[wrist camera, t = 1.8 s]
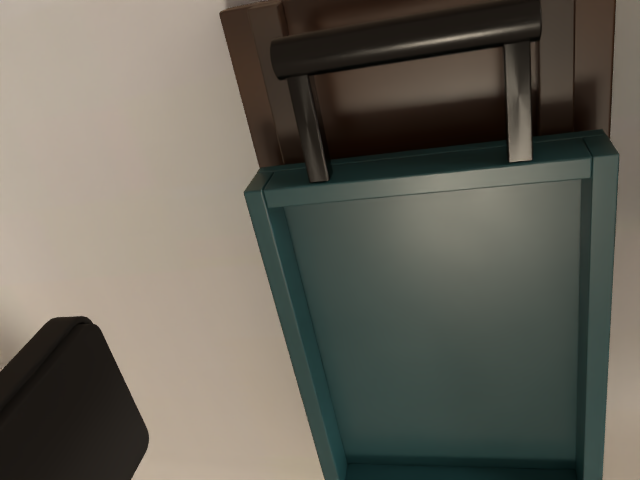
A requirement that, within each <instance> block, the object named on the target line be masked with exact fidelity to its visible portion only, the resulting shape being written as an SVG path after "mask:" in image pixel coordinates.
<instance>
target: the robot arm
mask: <svg viewBox="0 0 640 480" xmlns="http://www.w3.org/2000/svg"><path fill="white" fill-rule="evenodd" d="M148 443H149V434H148V430H147V428H146V425H145V423H144V421H143V419H142V417H141V415H140V413H139V410H138V408H137V406H136V404H135V402H134V400H133V398H132V396H131V393H130V391H129V389H128V387H127V385H126V383H125V381H124V378H123V376H122V374H121V372H120V370H119V368H118V366H117V364H116V361H115V359H114V357H113V355H112V353H111V351H110V349H109V346H108V344H107V342H106V340H105V338H104V336H103V334H102V332H101V330H100V328H99V327H98V326H97V325H95V324H93V323H92V321H91V320H90V319H88V318H87V317H83V316H76V317H56V318H53V319H51V320H49V321H48V322H47V323H46V324H45V325H44V326H43V327H42V328H41V329H40V330H39V331H38V332H37V333H36V334H35V335H34V337H33V338H32V339H31V340H30V341H29V342H28V343H27V344H26V345H25V346H24V347H23V348H22V349H21V350H20V351H19V353H18V354H17V355H16V356H15V357H14V358H13V359H12V360H11V361H10V362H9V363H8V364H7V365H6V366H5V367H4V369H3V370H2V371H1V372H0V480H131V478H132V477H133V475H134V473H135V471H136V469H137V467H138V466H139V464H140V462H141V460H142V458H143V456H144V454H145V453H146V450H147V448H148Z"/></svg>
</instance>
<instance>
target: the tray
mask: <svg viewBox="0 0 640 480" xmlns="http://www.w3.org/2000/svg"><path fill="white" fill-rule="evenodd" d="M541 35H542V8H541V0H489V1H484V2H478V3H472V4H466V5H461V6H455V7H449V8H443V9H438V10H432V11H426V12H420V13H414V14H409V15H403V16H397V17H391V18H386V19H380V20H374V21H368V22H363V23H357V24H351V25H345V26H339V27H334V28H328V29H322V30H316V31H311V32H305V33H299V34H293V35H288V36H282V37H276V38H273V39H272V40H271V42H270V61H271V65H272V69H273V72H274V74H275V76H276V78H277V79H278V80H280V81H282V80H287V84H288V89H289V93H290V98H291V102H292V107H293V111H294V116H295V120H296V125H297V129H298V134H299V138H300V143H301V147H302V152H303V156H304V161H305V163H296V164H287V165H278V166H270V167H261V168H260V169H259V171H258V172H257V174H256V175H255V177H254V178H253V179H252V181H251V182H250V184H249V185H248V187H247V188H246V190H245V191H244V196H245V199H246V203H247V206H248V210H249V214H250V217H251V221H252V224H253V228H254V231H255V235H256V238H257V242H258V245H259V249H260V252H261V256H262V259H263V263H264V267H265V270H266V274H267V277H268V281H269V284H270V288H271V291H272V295H273V298H274V302H275V305H276V309H277V313H278V316H279V320H280V323H281V327H282V330H283V334H284V337H285V341H286V344H287V348H288V351H289V355H290V358H291V362H292V366H293V369H294V373H295V376H296V380H297V383H298V387H299V390H300V394H301V397H302V401H303V404H304V408H305V411H306V415H307V419H308V422H309V426H310V429H311V433H312V436H313V440H314V443H315V447H316V450H317V454H318V457H319V461H320V465H321V468H322V472H323V475H324V479H325V480H602V476H603V457H604V438H605V419H606V400H607V381H608V362H609V343H610V324H611V305H612V286H613V266H614V247H615V228H616V209H617V190H618V171H619V153H618V151H617V150H616V148H615V147H614V145H613V144H612V142H611V140H610V139H609V137H608V136H607V135H606V133H605V132H604V130H603V129H598V130H589V131H580V132H571V133H562V134H553V135H544V136H536V137H533V127H532V82H531V42H538V41H540V39H541ZM499 47H502V66H503V88H504V110H505V132H506V140H500V141H491V142H482V143H474V144H465V145H456V146H447V147H438V148H429V149H420V150H411V151H403V152H394V153H385V154H376V155H367V156H358V157H349V158H340V159H332V160H330V154H329V149H328V144H327V139H326V134H325V129H324V124H323V119H322V114H321V109H320V104H319V99H318V94H317V89H316V84H315V79H314V76H315V75H322V74H328V73H335V72H341V71H348V70H354V69H361V68H368V67H374V66H381V65H387V64H394V63H400V62H407V61H413V60H420V59H427V58H433V57H440V56H446V55H453V54H459V53H466V52H472V51H479V50H486V49H492V48H499Z"/></svg>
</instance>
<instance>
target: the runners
mask: <svg viewBox="0 0 640 480" xmlns="http://www.w3.org/2000/svg"><path fill="white" fill-rule="evenodd" d="M484 1H489V0H267V1H262V2H256V3H251V4H246V5H241V6H235V7H230V8H227V9H225V10H223V11H221V12H220V13H219V15H220V19H221V23H222V26H223V30H224V34H225V38H226V42H227V45H228V49H229V53H230V57H231V61H232V65H233V68H234V72H235V76H236V80H237V84H238V87H239V91H240V95H241V99H242V103H243V106H244V110H245V114H246V118H247V122H248V125H249V129H250V133H251V137H252V141H253V144H254V148H255V152H256V156H257V160H258V164H259V167H260V168H261V167H270V166H278V165H287V164H296V163H305V161H304V156H303V152H302V147H301V143H300V138H299V134H298V129H297V125H296V120H295V116H294V111H293V107H292V102H291V98H290V93H289V89H288V84H287V80H282V81H280V80H278V79H277V78H276V76H275V74H274V72H273V69H272V65H271V61H270V42H271V40H272V39H273V38H276V37H282V36H288V35H293V34H299V33H305V32H311V31H316V30H322V29H328V28H334V27H339V26H345V25H351V24H357V23H363V22H368V21H374V20H380V19H386V18H391V17H397V16H403V15H409V14H414V13H420V12H426V11H432V10H438V9H443V8H449V7H455V6H461V5H466V4H472V3H478V2H484ZM541 8H542V35H541V39H540V41H538V42H531V82H532V127H533V137H536V136H544V135H553V134H562V133H571V132H580V131H589V130H598V129H603V130H604V132H605V133H606V135H607V136H608V137H609V139H610V127H611V104H612V81H613V58H614V35H615V12H616V0H541ZM314 79H315V84H316V89H317V94H318V99H319V104H320V109H321V114H322V119H323V124H324V129H325V134H326V139H327V144H328V149H329V154H330V160H332V159H340V158H349V157H358V156H367V155H376V154H385V153H394V152H403V151H411V150H420V149H429V148H438V147H447V146H456V145H465V144H474V143H482V142H491V141H500V140H506V132H505V110H504V88H503V66H502V47H499V48H492V49H486V50H479V51H472V52H466V53H459V54H453V55H446V56H440V57H433V58H427V59H420V60H413V61H407V62H400V63H394V64H387V65H381V66H374V67H368V68H361V69H354V70H348V71H341V72H335V73H328V74H322V75H315V76H314Z"/></svg>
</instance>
